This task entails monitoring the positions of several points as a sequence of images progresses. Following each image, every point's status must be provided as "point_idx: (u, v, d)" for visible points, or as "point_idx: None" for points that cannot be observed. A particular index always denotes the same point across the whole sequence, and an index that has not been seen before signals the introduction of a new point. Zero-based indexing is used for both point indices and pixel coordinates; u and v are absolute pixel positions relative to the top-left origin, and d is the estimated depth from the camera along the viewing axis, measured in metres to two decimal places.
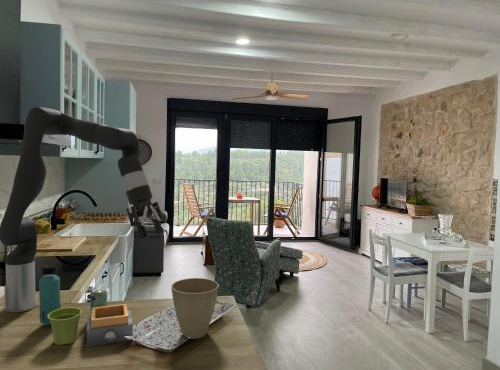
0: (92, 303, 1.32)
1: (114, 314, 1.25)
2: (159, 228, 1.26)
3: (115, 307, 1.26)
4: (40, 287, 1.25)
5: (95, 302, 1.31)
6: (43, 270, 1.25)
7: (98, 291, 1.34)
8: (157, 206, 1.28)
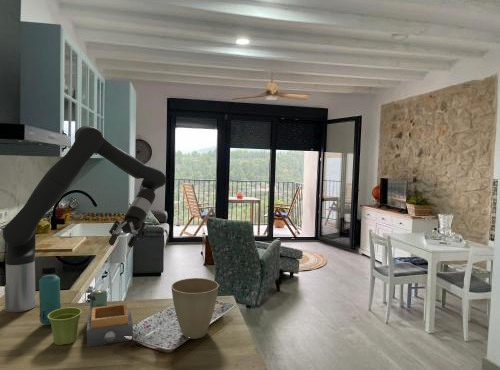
0: (92, 303, 1.32)
1: (114, 314, 1.25)
2: (114, 242, 1.47)
3: (115, 307, 1.26)
4: (40, 287, 1.25)
5: (95, 302, 1.31)
6: (43, 270, 1.25)
7: (98, 291, 1.34)
8: None
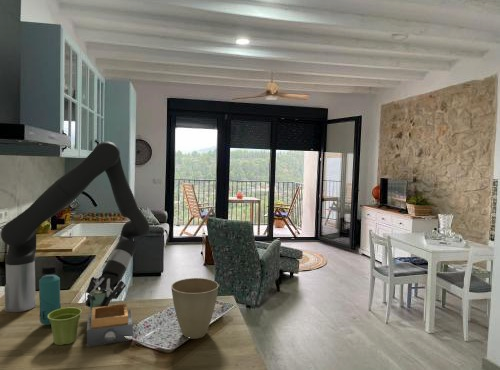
0: (92, 303, 1.32)
1: (114, 314, 1.25)
2: None
3: (115, 307, 1.26)
4: (40, 287, 1.25)
5: (95, 302, 1.31)
6: (43, 270, 1.25)
7: (98, 291, 1.34)
8: None
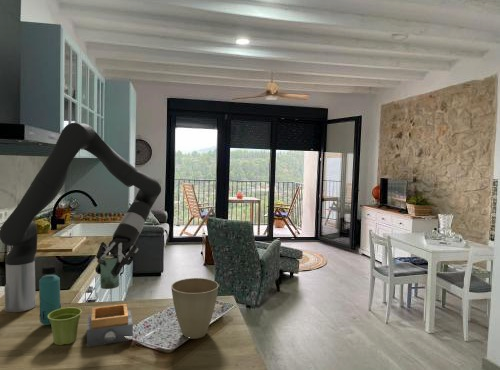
0: (103, 269, 1.18)
1: (114, 314, 1.25)
2: None
3: (115, 307, 1.26)
4: (40, 287, 1.25)
5: (106, 267, 1.18)
6: (43, 270, 1.25)
7: (109, 256, 1.20)
8: None
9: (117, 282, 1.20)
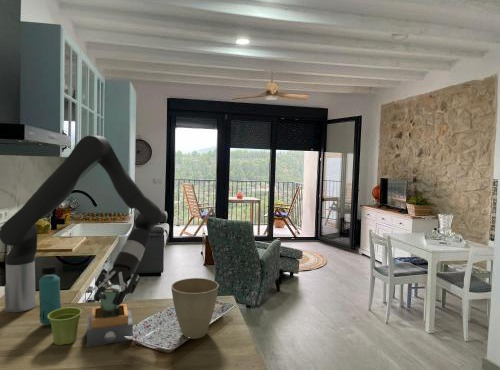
0: (103, 303, 1.19)
1: None
2: None
3: None
4: (40, 287, 1.25)
5: (107, 301, 1.18)
6: (43, 270, 1.25)
7: (109, 289, 1.21)
8: None
9: (117, 315, 1.20)
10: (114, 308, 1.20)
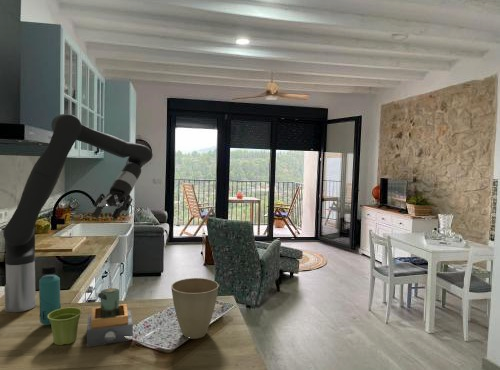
0: (103, 303, 1.19)
1: None
2: (98, 214, 1.47)
3: None
4: (40, 287, 1.25)
5: (107, 301, 1.18)
6: (43, 270, 1.25)
7: (109, 289, 1.21)
8: None
9: (117, 315, 1.21)
10: (115, 308, 1.20)
